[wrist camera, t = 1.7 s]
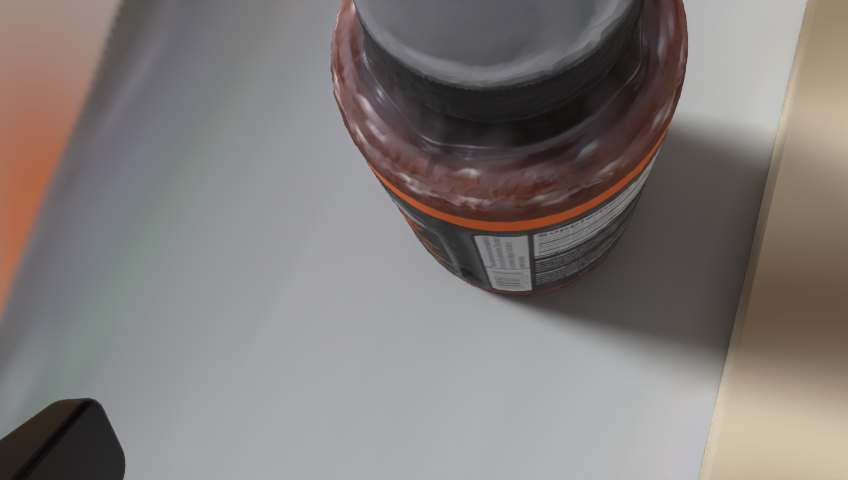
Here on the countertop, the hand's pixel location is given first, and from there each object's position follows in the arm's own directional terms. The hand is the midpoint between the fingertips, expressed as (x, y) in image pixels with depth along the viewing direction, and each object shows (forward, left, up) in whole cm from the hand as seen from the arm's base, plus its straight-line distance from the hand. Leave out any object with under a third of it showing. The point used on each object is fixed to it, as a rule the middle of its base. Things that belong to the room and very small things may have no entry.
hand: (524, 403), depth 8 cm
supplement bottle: (+6, +2, -12) cm, 14 cm away
